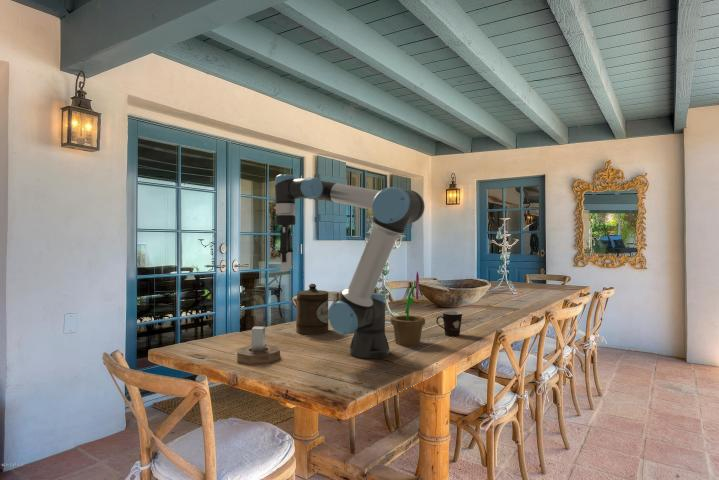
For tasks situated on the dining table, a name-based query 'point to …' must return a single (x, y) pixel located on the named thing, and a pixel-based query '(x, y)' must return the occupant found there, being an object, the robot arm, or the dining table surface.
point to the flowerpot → (408, 323)
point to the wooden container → (312, 311)
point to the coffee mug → (451, 323)
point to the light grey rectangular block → (258, 339)
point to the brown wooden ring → (258, 354)
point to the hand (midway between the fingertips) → (286, 269)
